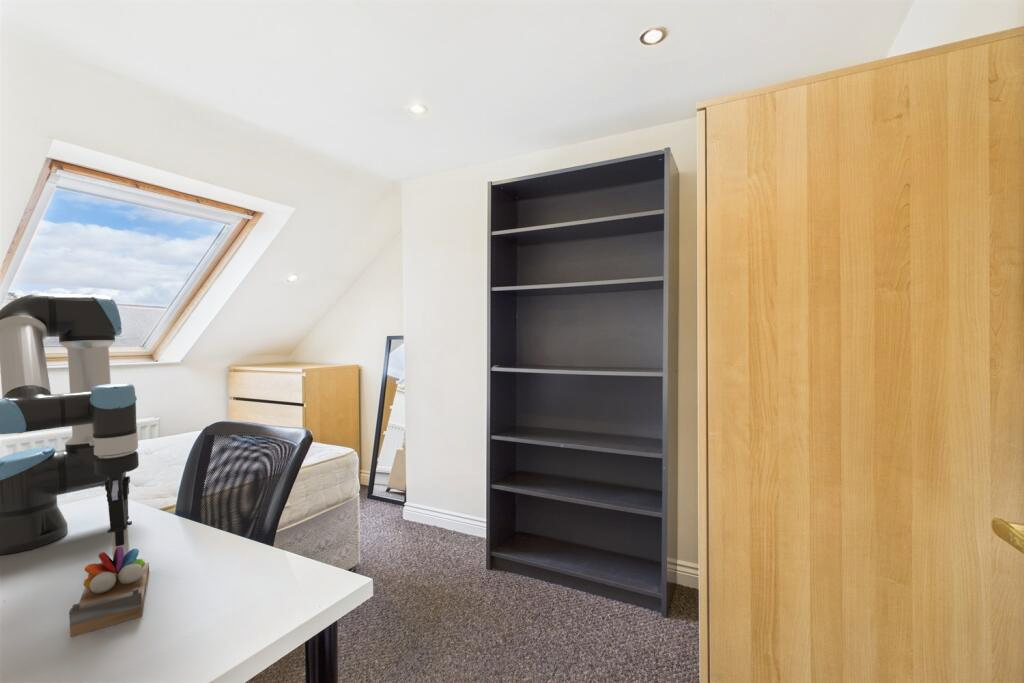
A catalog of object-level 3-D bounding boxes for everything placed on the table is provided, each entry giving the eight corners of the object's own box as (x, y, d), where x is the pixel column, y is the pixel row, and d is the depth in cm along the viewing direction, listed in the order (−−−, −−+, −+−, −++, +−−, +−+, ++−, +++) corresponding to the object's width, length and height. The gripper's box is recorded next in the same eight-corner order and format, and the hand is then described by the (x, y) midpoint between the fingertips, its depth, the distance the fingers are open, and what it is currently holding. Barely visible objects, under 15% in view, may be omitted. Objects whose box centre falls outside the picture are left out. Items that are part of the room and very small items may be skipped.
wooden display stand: (89, 585, 99) (88, 562, 98) (149, 570, 104) (148, 548, 104) (70, 637, 82) (68, 608, 82) (142, 616, 88) (140, 589, 88)
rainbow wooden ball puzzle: (82, 584, 95) (80, 550, 95) (141, 566, 103) (140, 534, 102) (86, 601, 90) (84, 564, 89) (148, 580, 97) (147, 546, 96)
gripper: (98, 450, 106) (103, 551, 107) (88, 463, 95) (94, 575, 96) (140, 444, 110) (144, 541, 111) (135, 457, 100) (140, 564, 100)
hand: (121, 557), depth 104 cm, fingers closed
